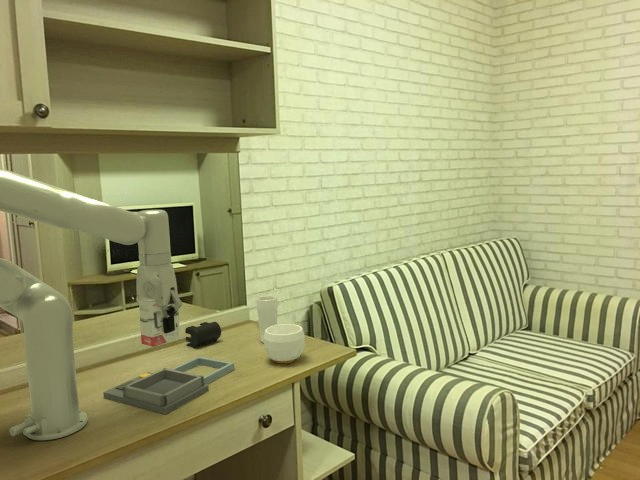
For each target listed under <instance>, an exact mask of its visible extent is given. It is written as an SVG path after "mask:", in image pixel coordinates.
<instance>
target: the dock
mask: <svg viewBox="0 0 640 480" xmlns="http://www.w3.org/2000/svg"><path fill="white" fill-rule="evenodd" d="M204 376H205V375H200V374H195V373H190V372H186V371H185V372H181V371H177V370H172V368H168V367H167V368H166V367H164V368H162V369H159V370H158V371H155V372H149V371H148V372H146V373H144V374H141V375H139V376H136V377H134V378H133V379H130V380H127V381H126V382H124V383H121V384H118V385H116V386H114V387H112V388H110V389H107V390H105V391H103V393H102V394H103V398H104V399H106V400H107V399H108V400H110V401H114V402H117V403H121V404H126V405H129V406H133V407H137V408H141V409H144V410H147V411H151V412H155V413H159V414H162V415H168V414H170V413H171V412H173V411H175V410H177V409H180V407H182V406H184V405H186V404H187V403H189V402H191V401H193V400H195V399H197V398H199V397H200V396H202V395H204V394H205V393H207V392H209V391H210V390H209V384H207V385H205V384H204Z"/></svg>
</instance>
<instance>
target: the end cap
mask: <svg viewBox="0 0 640 480" xmlns="http://www.w3.org/2000/svg"><path fill="white" fill-rule="evenodd" d="M184 333H185V334H187V335H190V337H189V336H186V337H185V341H186V342H187V343H186V346H187V347H190V348H193V349H194V348H198V347H202V346H205V345H207V344H211V343H213V342H216V341H218V340H219V339H220V338H221V337H222V328H221V326H220V324H219V323H218V322H217V321H211V322H207V321H204V322H201V323H199V325H198V326H195V325H191V326H187V327H185V331H184Z"/></svg>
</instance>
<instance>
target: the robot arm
mask: <svg viewBox="0 0 640 480" xmlns="http://www.w3.org/2000/svg"><path fill="white" fill-rule="evenodd" d="M0 212H3V213H6V214H7V213H8V214H10V215H13V216H17V217H21V218H23V219H28V220H31V221H34V222H38V223H42V224H45V225H49V226H52V227H55V228H59V229H63V230H70V231H76V232H80V233H84V234H87V235H90V236H94V237H99V238H102V239H105V240H108V241H111V242H114V243H118V244H121V245H125V246H126V245H127V246H130V245H134V244H136V243H137V245H138V246H137V247H138V259H139V261H138V262H139V265H137V272H136V281H135V282H136V298H135V301H136V302H137V304H138V305H139V299H140V298H141V297H145V298H151V299H155V300H156V306H157V307H162V309H163V313H164V316H165V317H164V318H163V327H164V333H166V334H167V333H170V332H172V331H174V330H175V322H174V315H176V312H177V311H178V310H179V309H180V308H181V307H182V306H183V302H182V300H181V299H180V297H179V295H178V283H177V277H176V274H175V269H174V266H173V264H172V252H171V237H170V225H169V224H170V223H169V215H168V212H167V211H166V210H164V209H146V210H140V211H130V210H127V209H123V208H120V207H117V206H115V205H111V204H108V203H106V202H102V201H99V200H96V199H93V198H90V197H87V196H84V195H81V194H79V193H76V192H74V191H72V190H67V189H65V188H62V187H59V186H56V185H53V184H50V183H48V182H47V183H46V182H43V181H41V180H38V179H35V178H33V177H29V176H26V175H24V174H20V173H17V172H14V171H11V170H8V169H4V168H0ZM172 301H173V302H172ZM173 304H174V305H173ZM168 306H169V311H168V309H167V307H168ZM0 308H1V309H2V310H4V311H6V312H8V313H10V314H11V315H13V316H15V317H17V318H18V319H20V320H21V322H22V327H23V337H24V338H23V339H24V340H23V341H24V343H23V344H24V353H25V366H26V372H27V382H28V383H27V384H28V391H29V400H30V402H29V403H30V411H31V412H30V413H28V414H26V419H25V420H23V421H22V423H19V424H16V425H14V426H12V427H10V428H9V434H10V436H11V437H16V436H17V435H20V434H22V433H23V435H24V436H26V437H27V438H28V439H29V440H30V439H31V440H33V441H50V440H56V439H60V438H64V437H67V436H70V435H72V434H74V433H76V432H78V431H79V430H82V428H84V427H85V426H86V425H87V423H88V421H89V419H88V414H87V413H86V412H84V411H83V410H82V411H81V410H80V405H79V403H80V402H79V394H78V393H79V392H78V382H77V381H78V380H77V372H76V370H77V369H76V360H75V351H74V336H73V333H74V331H73V330H74V328H73V327H74V315H73V310H72V306H71V304H70V302H69V300H68V299H67V298H66V296H65V295H63V294H62V293H60V292H59V291H58V290H56V289H54V287H52V286H50V285H48V284H47V283H45V282H44V281H42V280H41V279H40V278H38V277H36V276H34V275H33V274H32V273H30V272H29V271H27V270H25V269H24V268H23V267H20V266H19V265H17V264H16V263H14V262H13V261H11V260H9V259H6V258H2V257H0Z"/></svg>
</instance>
